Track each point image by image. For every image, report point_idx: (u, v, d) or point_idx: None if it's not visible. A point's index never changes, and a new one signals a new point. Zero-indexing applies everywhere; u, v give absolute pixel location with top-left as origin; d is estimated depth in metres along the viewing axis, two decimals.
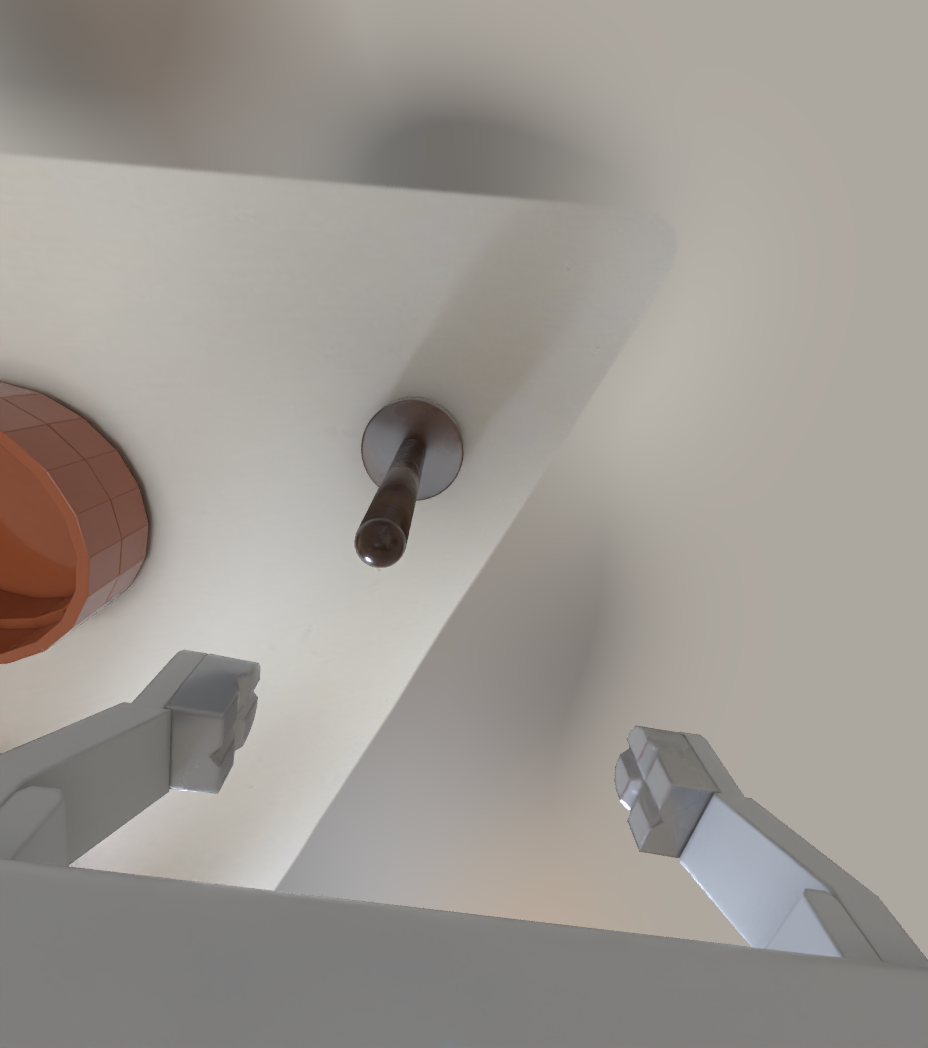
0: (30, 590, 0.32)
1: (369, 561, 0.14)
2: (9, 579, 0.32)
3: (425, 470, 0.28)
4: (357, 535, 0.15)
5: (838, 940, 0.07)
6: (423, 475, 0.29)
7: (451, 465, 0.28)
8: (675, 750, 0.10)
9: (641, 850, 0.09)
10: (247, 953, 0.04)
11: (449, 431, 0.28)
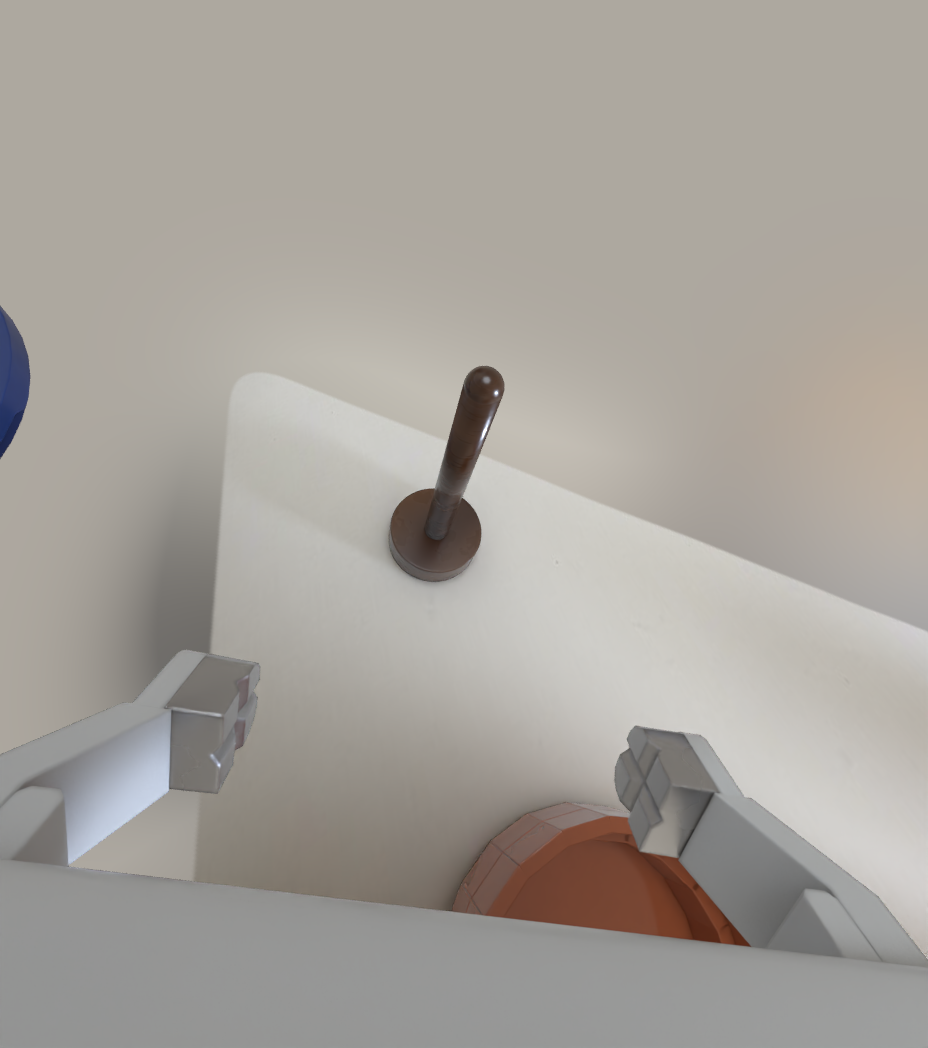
0: None
1: (498, 381, 0.18)
2: None
3: None
4: (480, 396, 0.18)
5: (838, 940, 0.07)
6: (455, 517, 0.32)
7: None
8: (675, 750, 0.10)
9: (641, 850, 0.09)
10: (246, 953, 0.04)
11: (413, 500, 0.32)
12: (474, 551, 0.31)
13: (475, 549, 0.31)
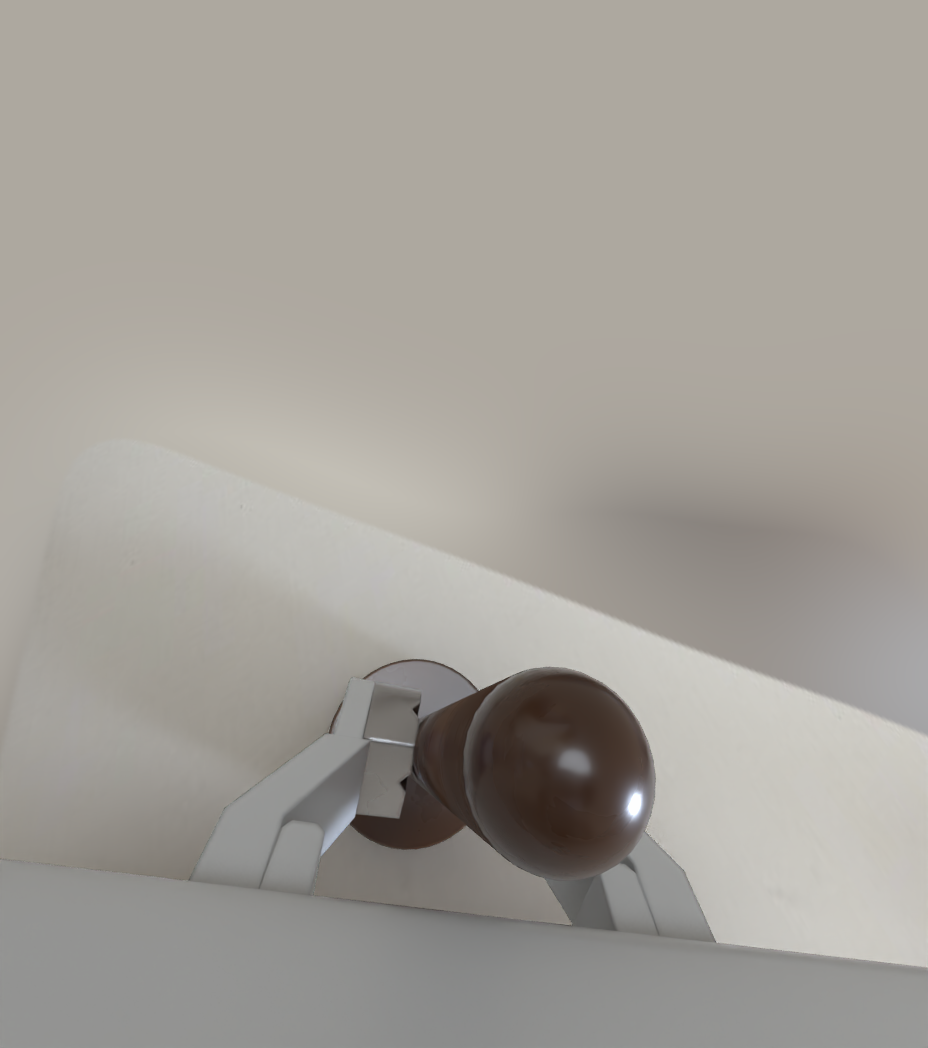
0: None
1: (641, 797, 0.03)
2: None
3: None
4: (548, 873, 0.03)
5: (617, 913, 0.06)
6: None
7: (426, 674, 0.18)
8: None
9: None
10: (246, 953, 0.04)
11: None
12: None
13: None
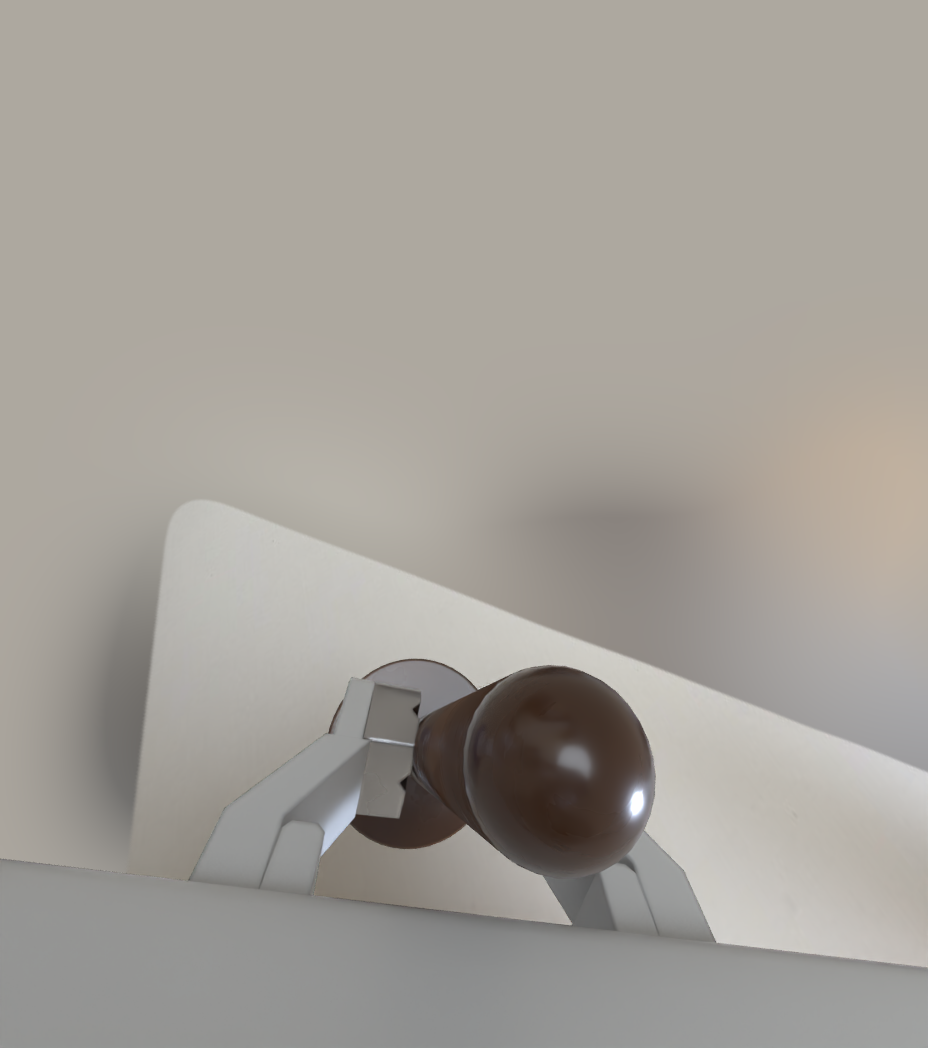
0: None
1: (641, 795, 0.03)
2: None
3: None
4: (548, 870, 0.04)
5: (618, 913, 0.06)
6: None
7: (426, 674, 0.18)
8: None
9: None
10: (247, 953, 0.04)
11: None
12: None
13: None
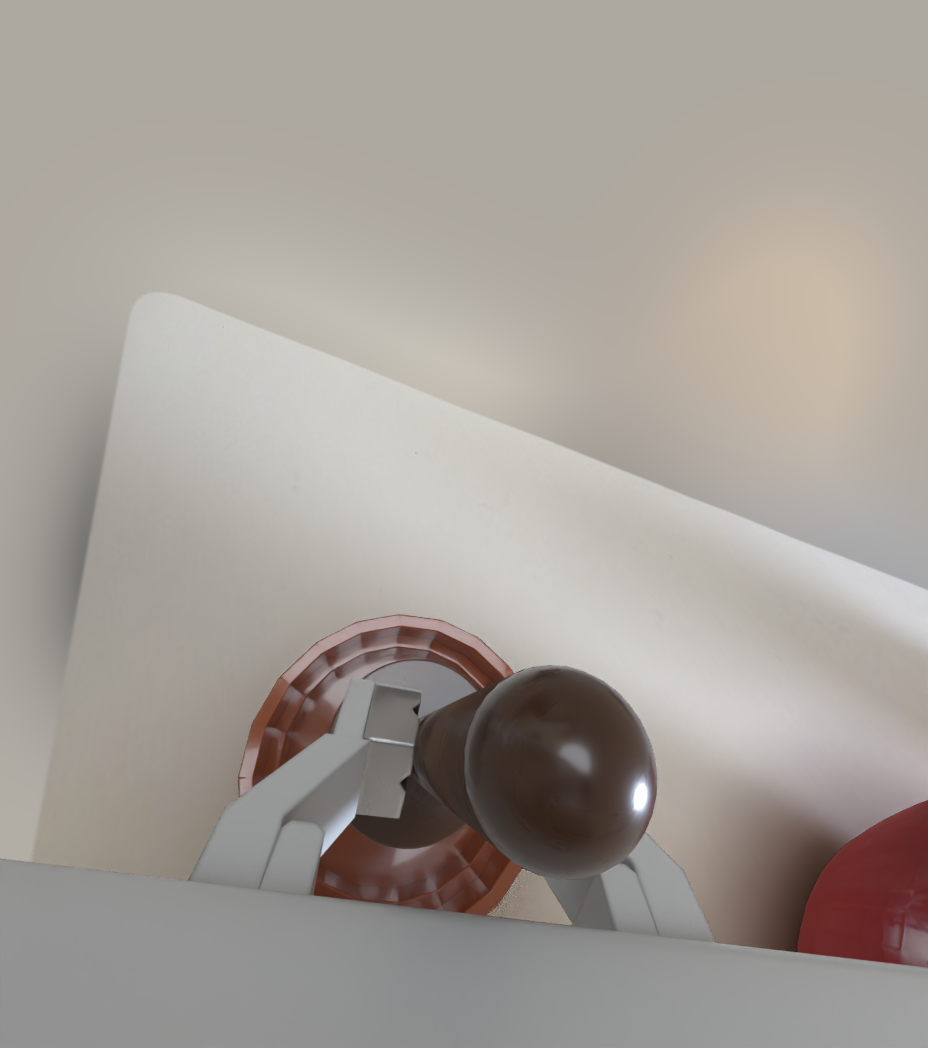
0: None
1: (643, 795, 0.03)
2: None
3: None
4: (549, 872, 0.03)
5: (617, 913, 0.06)
6: None
7: (426, 674, 0.18)
8: None
9: None
10: (246, 953, 0.04)
11: None
12: None
13: None
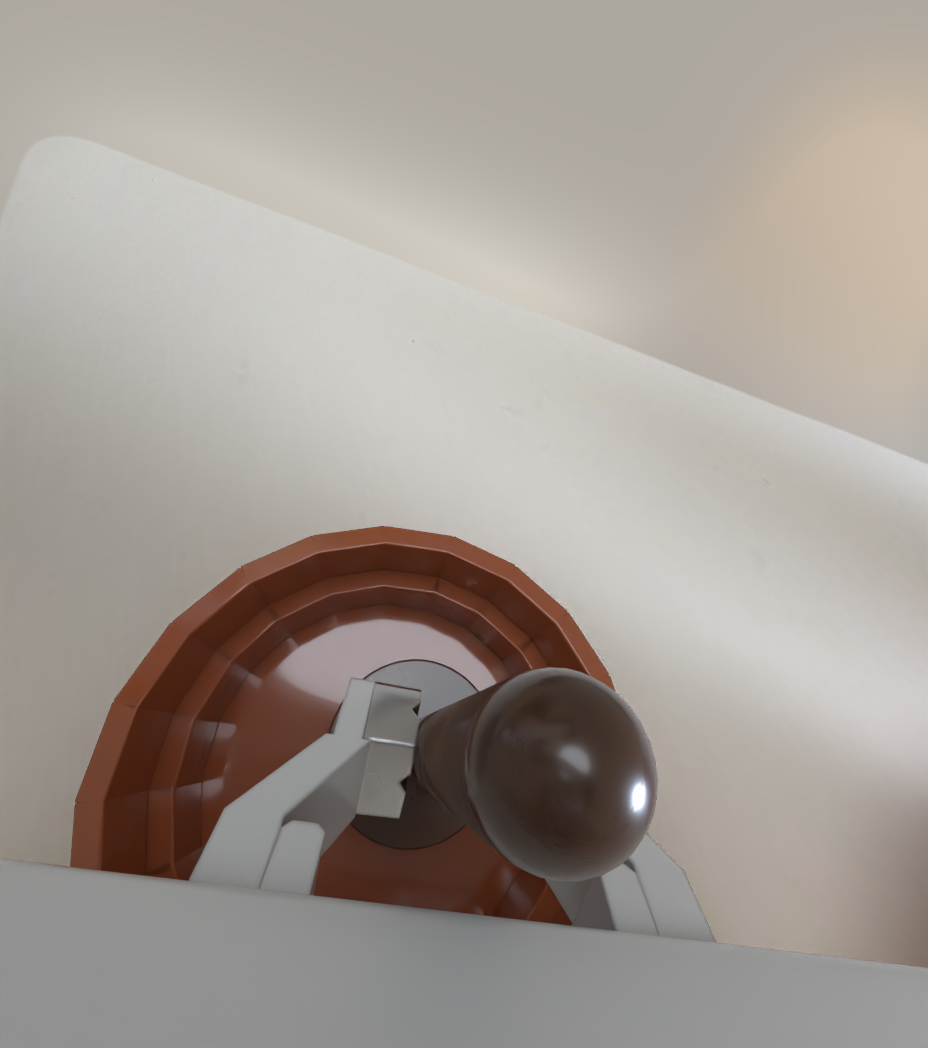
0: None
1: (643, 797, 0.03)
2: None
3: None
4: (550, 874, 0.03)
5: (617, 913, 0.06)
6: None
7: (426, 674, 0.18)
8: None
9: None
10: (247, 953, 0.04)
11: None
12: None
13: None
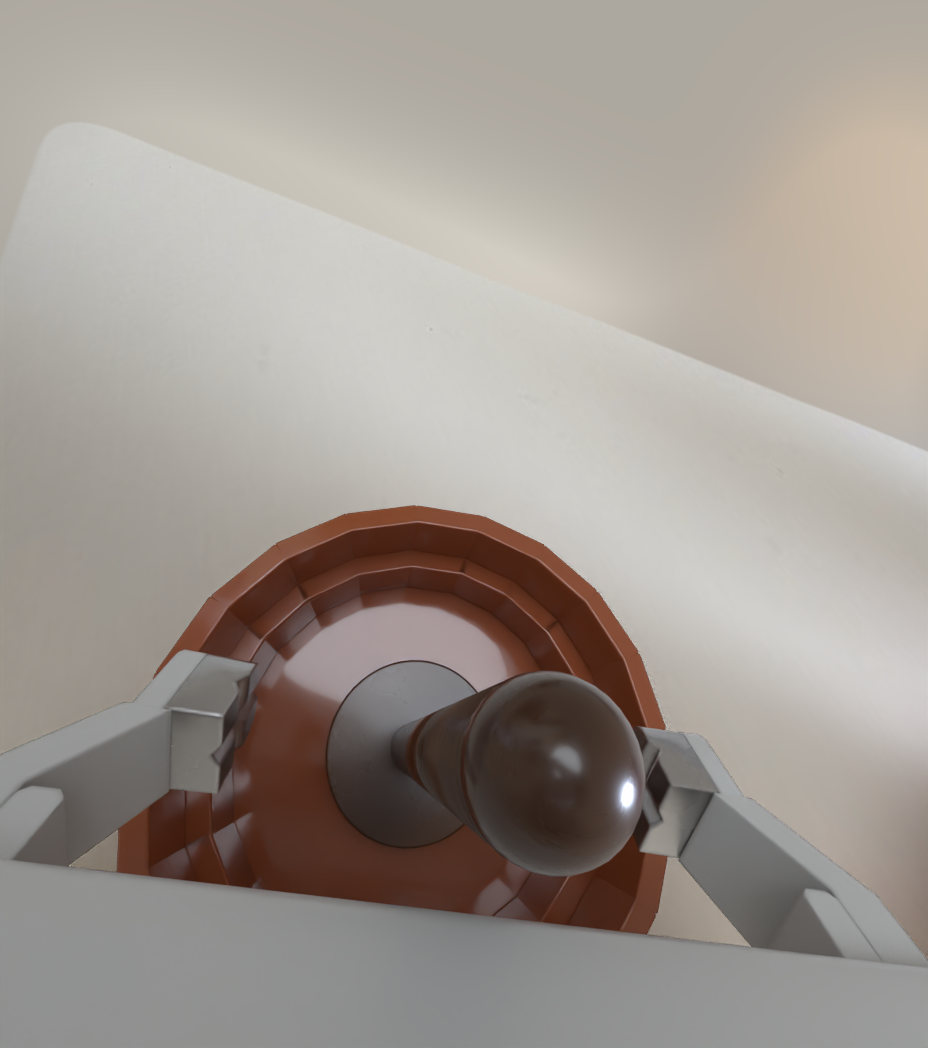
0: None
1: (631, 796, 0.04)
2: None
3: None
4: (542, 869, 0.04)
5: (838, 940, 0.07)
6: None
7: (425, 675, 0.18)
8: (675, 750, 0.10)
9: (641, 849, 0.09)
10: (246, 954, 0.04)
11: (370, 690, 0.17)
12: None
13: None
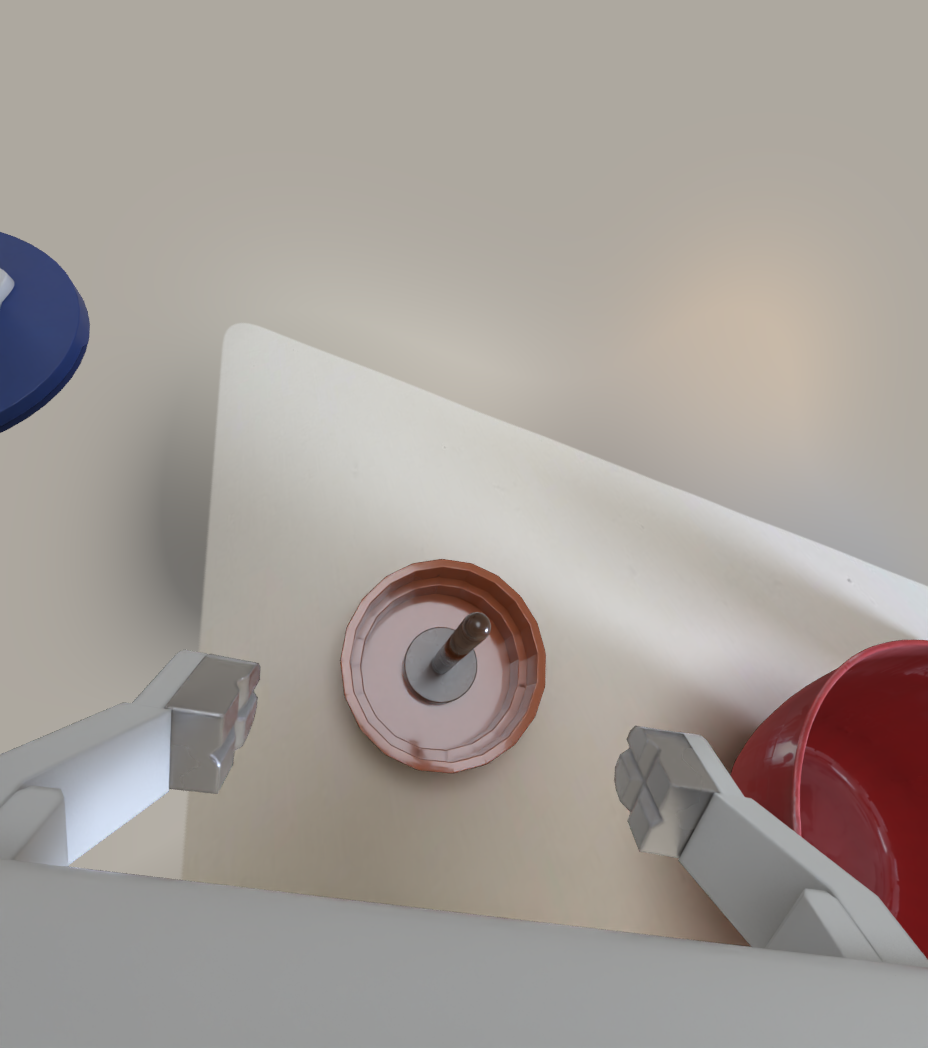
0: (504, 667, 0.42)
1: (486, 627, 0.26)
2: (498, 682, 0.41)
3: None
4: (474, 638, 0.26)
5: (838, 940, 0.07)
6: None
7: (445, 633, 0.40)
8: (675, 750, 0.10)
9: (641, 849, 0.09)
10: (246, 953, 0.04)
11: (421, 639, 0.39)
12: (471, 682, 0.39)
13: (472, 680, 0.39)
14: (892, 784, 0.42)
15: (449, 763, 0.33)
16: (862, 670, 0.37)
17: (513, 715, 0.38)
